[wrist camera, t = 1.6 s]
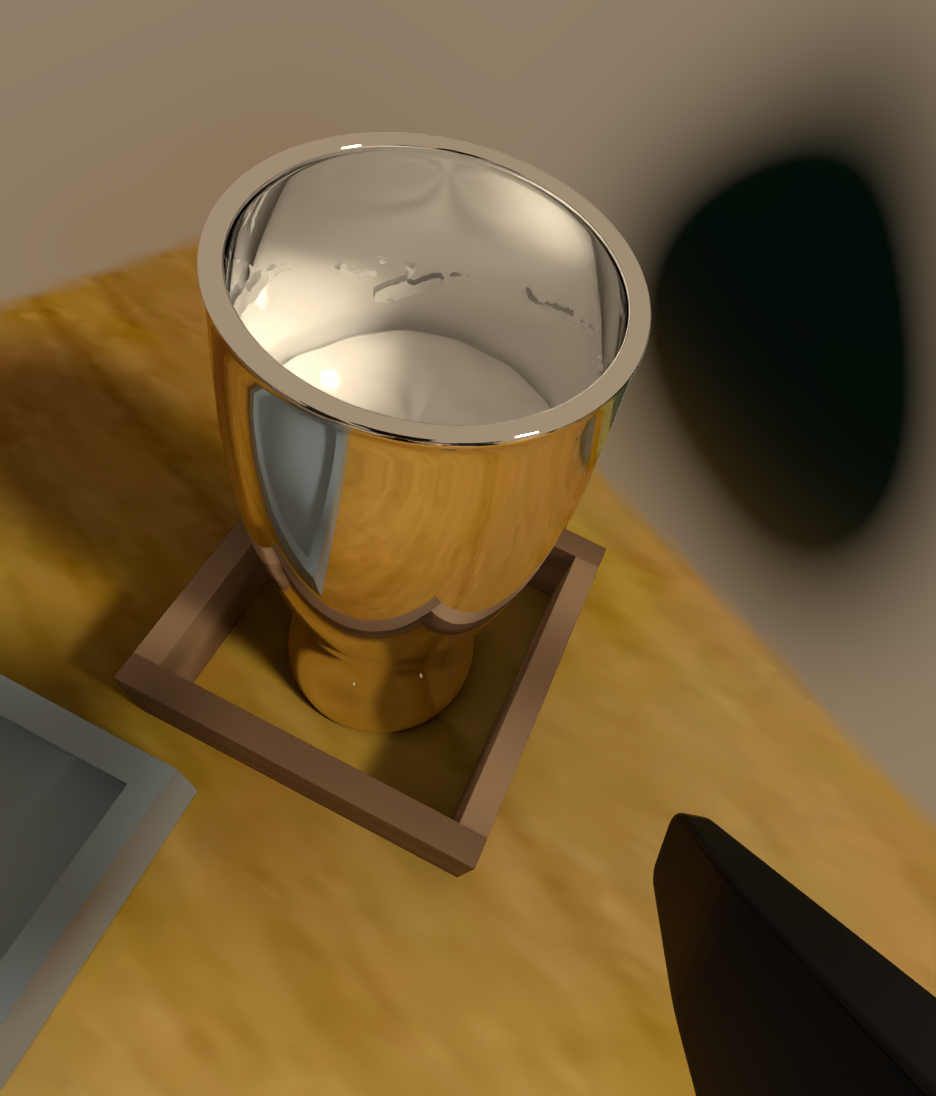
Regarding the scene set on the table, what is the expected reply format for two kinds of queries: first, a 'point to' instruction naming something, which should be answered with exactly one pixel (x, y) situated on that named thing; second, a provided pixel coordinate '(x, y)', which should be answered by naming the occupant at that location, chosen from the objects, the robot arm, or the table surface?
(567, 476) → the silver metal cup
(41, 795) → the tray
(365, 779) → the rectangular frame
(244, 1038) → the table surface
